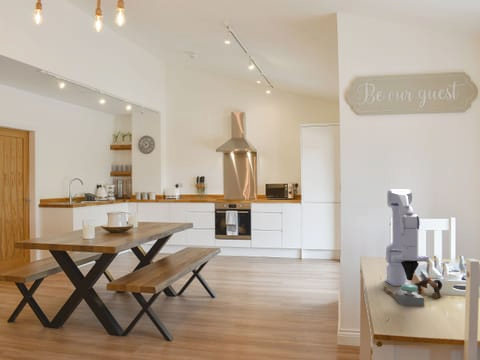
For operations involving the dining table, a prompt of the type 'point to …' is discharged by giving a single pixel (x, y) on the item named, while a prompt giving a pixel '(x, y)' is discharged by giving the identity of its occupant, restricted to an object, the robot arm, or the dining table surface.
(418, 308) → the dining table surface
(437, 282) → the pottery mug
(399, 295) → the dome box
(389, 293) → the rail
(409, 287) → the dome button
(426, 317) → the dining table surface
